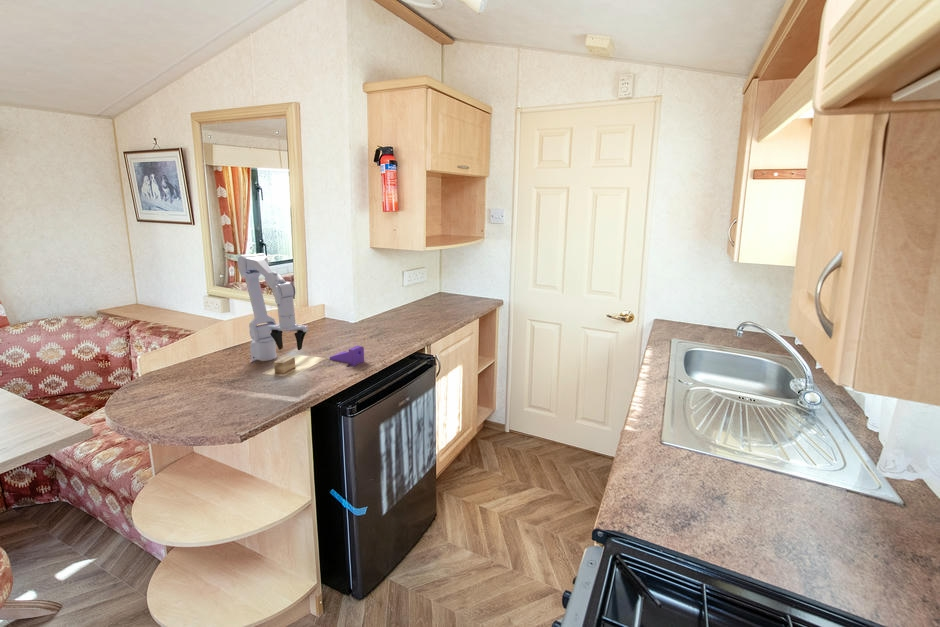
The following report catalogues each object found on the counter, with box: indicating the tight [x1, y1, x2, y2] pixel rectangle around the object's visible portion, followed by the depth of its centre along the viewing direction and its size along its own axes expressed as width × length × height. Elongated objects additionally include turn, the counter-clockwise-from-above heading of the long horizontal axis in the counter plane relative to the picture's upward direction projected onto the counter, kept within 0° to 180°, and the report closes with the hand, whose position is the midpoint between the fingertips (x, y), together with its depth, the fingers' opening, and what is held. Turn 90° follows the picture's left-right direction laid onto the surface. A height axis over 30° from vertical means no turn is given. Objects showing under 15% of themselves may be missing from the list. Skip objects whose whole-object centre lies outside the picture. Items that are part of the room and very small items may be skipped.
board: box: [261, 354, 326, 378], centre depth 190 cm, size 14×22×1 cm, turn 164°
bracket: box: [329, 345, 365, 367], centre depth 196 cm, size 12×7×7 cm, turn 63°
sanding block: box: [273, 355, 296, 374], centre depth 184 cm, size 4×7×4 cm, turn 164°
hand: (290, 349), depth 184 cm, fingers open, 7 cm apart
